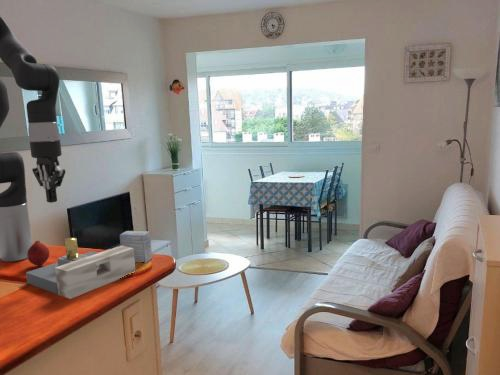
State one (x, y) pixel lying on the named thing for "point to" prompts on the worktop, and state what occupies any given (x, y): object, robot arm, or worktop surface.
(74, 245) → the bolt
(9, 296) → the worktop surface
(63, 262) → the door leaf
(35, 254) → the onion
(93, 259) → the block
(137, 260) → the medicine box
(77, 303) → the worktop surface
